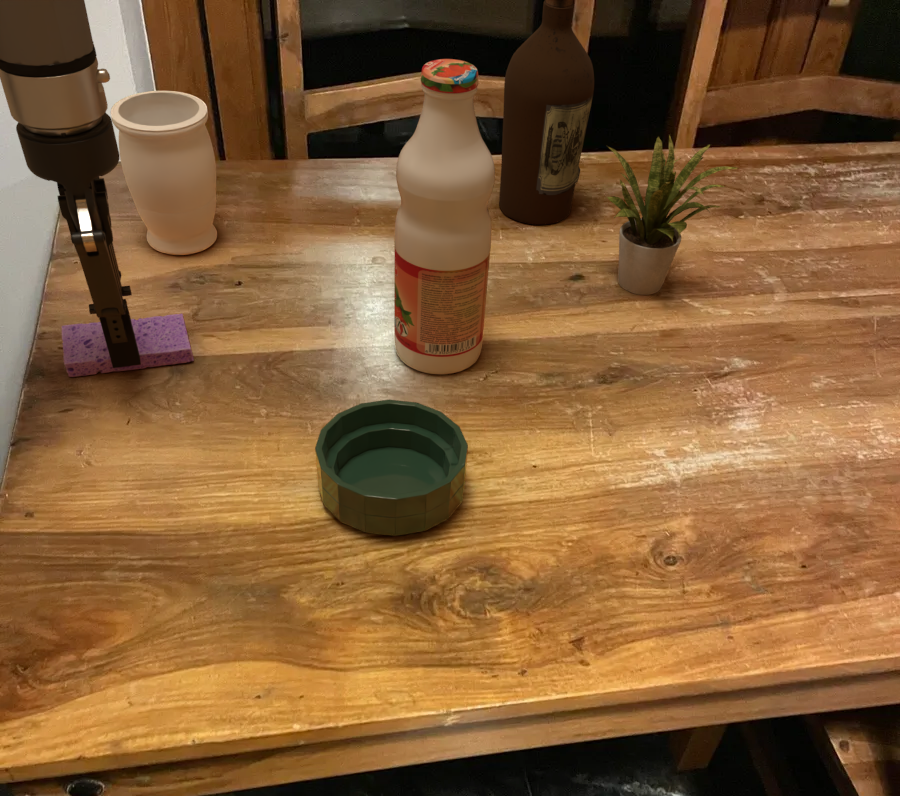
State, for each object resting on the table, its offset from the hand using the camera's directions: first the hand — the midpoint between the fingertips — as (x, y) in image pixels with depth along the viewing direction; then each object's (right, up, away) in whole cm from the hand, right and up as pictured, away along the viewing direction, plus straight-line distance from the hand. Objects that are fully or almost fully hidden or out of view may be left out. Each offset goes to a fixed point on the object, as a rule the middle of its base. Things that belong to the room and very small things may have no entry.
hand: (126, 362), depth 94 cm
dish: (+27, -14, -8) cm, 32 cm away
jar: (0, +20, +19) cm, 28 cm away
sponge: (-1, +2, +4) cm, 4 cm away
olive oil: (+44, +27, +28) cm, 59 cm away
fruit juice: (+31, +3, +7) cm, 32 cm away
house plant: (+56, +13, +17) cm, 60 cm away
